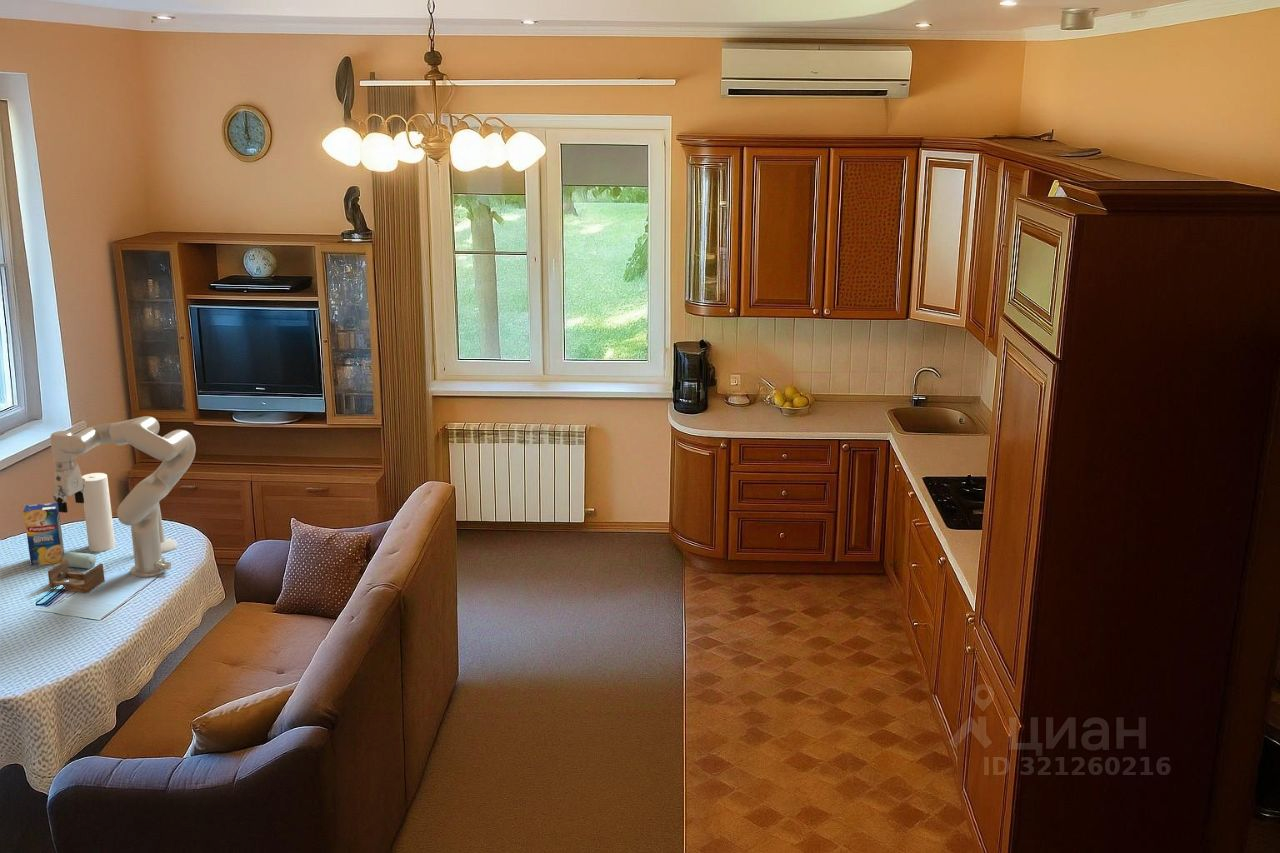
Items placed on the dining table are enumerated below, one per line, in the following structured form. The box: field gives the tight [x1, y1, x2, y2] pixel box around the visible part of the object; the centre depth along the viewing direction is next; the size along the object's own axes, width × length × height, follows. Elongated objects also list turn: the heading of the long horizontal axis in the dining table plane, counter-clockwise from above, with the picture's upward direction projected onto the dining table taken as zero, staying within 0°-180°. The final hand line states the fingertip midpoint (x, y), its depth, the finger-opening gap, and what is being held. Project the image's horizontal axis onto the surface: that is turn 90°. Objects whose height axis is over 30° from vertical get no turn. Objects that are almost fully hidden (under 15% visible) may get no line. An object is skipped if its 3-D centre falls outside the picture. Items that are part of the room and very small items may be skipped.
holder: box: [47, 560, 106, 594], centre depth 408 cm, size 15×10×7 cm, turn 81°
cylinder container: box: [82, 472, 116, 553], centre depth 437 cm, size 9×9×30 cm
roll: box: [62, 551, 97, 570], centre depth 423 cm, size 10×6×6 cm, turn 81°
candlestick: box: [158, 505, 179, 554], centre depth 439 cm, size 13×13×30 cm
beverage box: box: [23, 502, 66, 566], centre depth 425 cm, size 7×11×22 cm, turn 111°
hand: (71, 507), depth 417 cm, fingers open, 9 cm apart
